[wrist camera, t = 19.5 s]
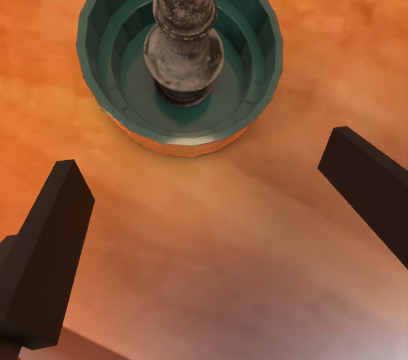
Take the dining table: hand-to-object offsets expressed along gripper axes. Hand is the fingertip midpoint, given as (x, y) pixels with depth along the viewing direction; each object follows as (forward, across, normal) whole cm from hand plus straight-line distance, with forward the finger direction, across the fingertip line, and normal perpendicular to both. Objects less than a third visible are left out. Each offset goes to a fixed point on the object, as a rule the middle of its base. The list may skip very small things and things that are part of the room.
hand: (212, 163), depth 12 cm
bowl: (+12, 0, 0) cm, 12 cm away
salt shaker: (+12, 0, +1) cm, 12 cm away
